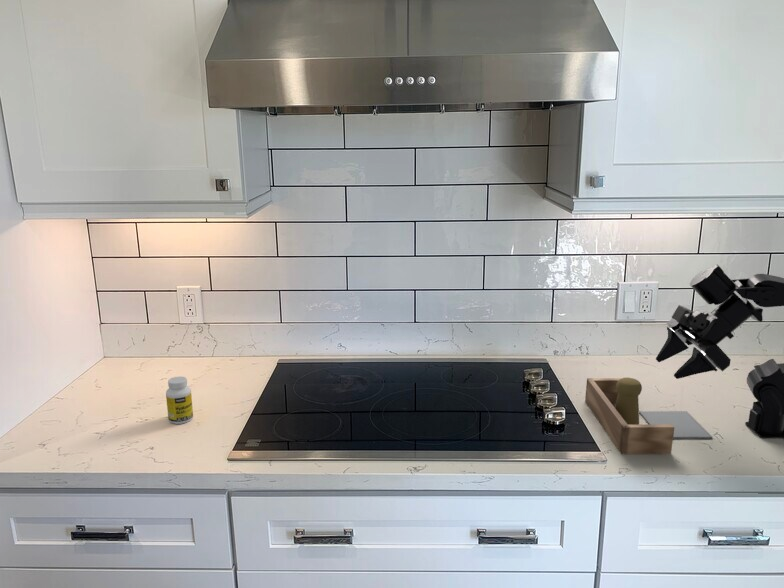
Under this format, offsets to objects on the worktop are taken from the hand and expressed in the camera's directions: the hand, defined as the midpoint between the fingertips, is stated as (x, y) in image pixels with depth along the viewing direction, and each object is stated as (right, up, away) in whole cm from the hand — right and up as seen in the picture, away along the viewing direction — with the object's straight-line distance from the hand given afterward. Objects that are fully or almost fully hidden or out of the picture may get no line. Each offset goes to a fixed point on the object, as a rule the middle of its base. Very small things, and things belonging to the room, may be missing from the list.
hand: (665, 368), depth 135 cm
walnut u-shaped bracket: (-8, -13, +4) cm, 16 cm away
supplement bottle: (-107, -13, +7) cm, 109 cm away
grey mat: (+4, -13, +4) cm, 14 cm away
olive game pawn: (-7, -13, +4) cm, 16 cm away
